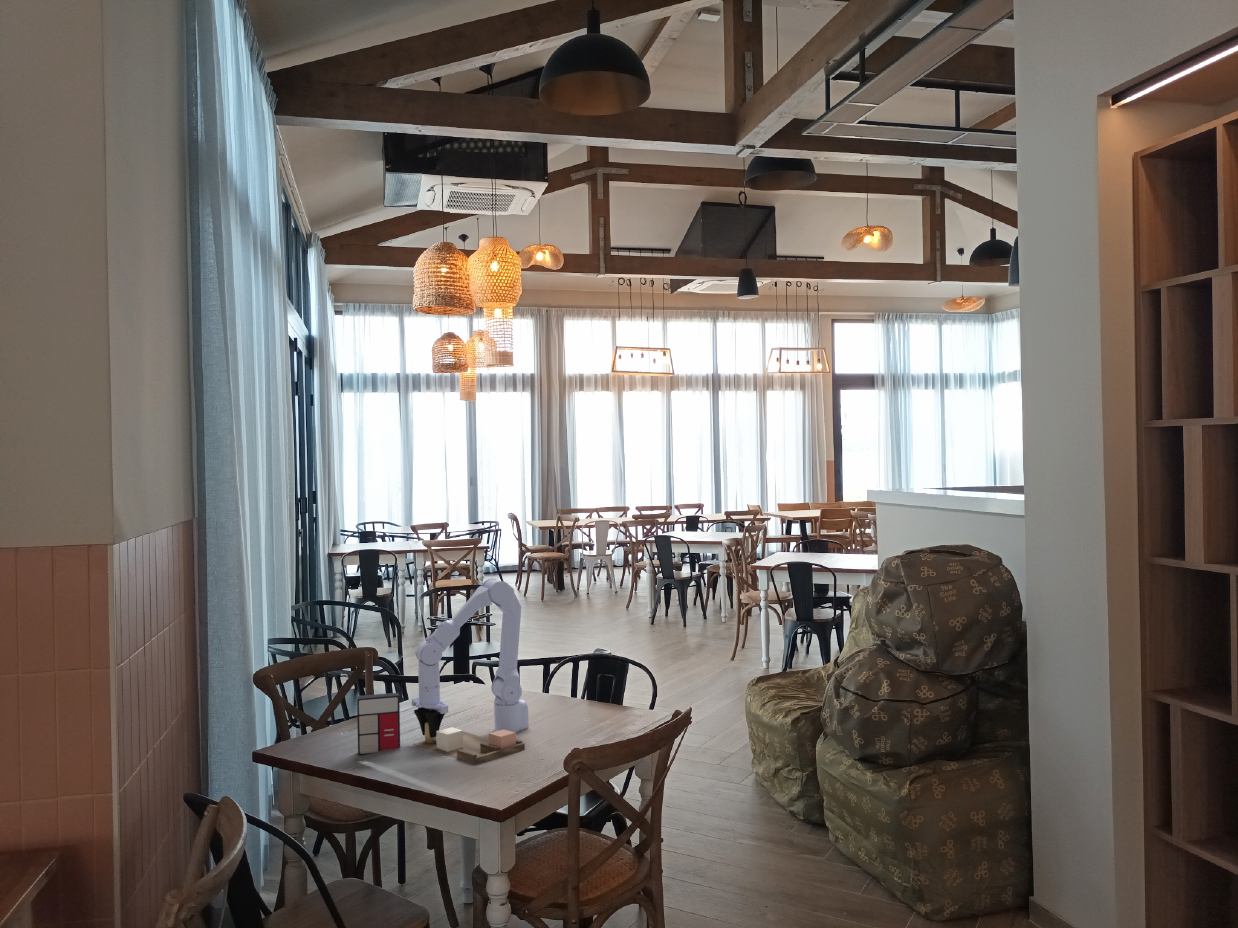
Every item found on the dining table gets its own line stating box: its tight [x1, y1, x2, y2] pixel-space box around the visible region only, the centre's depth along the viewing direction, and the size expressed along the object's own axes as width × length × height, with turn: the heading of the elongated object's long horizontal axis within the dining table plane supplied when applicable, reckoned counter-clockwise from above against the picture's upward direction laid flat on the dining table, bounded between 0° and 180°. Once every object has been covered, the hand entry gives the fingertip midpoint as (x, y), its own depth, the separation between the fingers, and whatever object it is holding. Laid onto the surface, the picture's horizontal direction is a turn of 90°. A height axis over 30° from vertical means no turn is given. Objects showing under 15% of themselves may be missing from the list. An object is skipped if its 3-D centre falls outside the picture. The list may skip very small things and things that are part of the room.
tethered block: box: [424, 722, 464, 752], centre depth 237 cm, size 5×13×5 cm, turn 47°
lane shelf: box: [413, 731, 526, 765], centre depth 235 cm, size 16×28×3 cm, turn 47°
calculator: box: [356, 692, 401, 756], centre depth 236 cm, size 11×4×15 cm, turn 105°
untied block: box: [488, 729, 517, 749], centre depth 231 cm, size 5×5×4 cm
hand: (430, 735), depth 241 cm, fingers closed on tethered block, 3 cm apart
